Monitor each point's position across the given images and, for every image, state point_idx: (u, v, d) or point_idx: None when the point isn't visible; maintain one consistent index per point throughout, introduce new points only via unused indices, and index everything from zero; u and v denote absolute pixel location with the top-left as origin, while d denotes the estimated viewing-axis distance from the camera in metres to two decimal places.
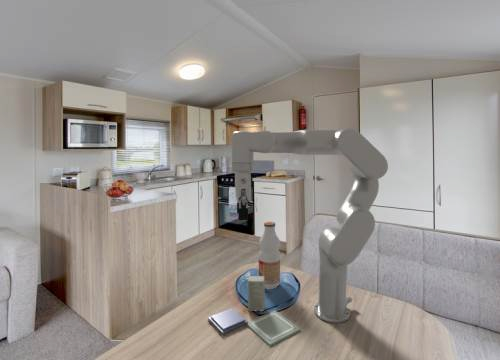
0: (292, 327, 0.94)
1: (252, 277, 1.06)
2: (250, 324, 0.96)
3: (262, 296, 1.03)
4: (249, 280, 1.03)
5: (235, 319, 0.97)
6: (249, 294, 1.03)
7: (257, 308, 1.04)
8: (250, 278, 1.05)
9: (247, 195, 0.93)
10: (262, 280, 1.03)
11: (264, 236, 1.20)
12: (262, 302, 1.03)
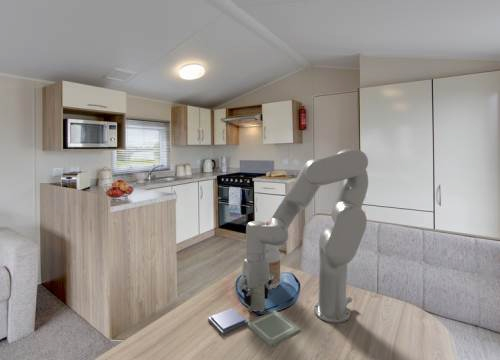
0: (292, 327, 0.94)
1: None
2: (250, 324, 0.96)
3: (262, 296, 1.03)
4: None
5: (235, 319, 0.97)
6: (249, 294, 1.03)
7: (257, 308, 1.04)
8: None
9: None
10: (262, 280, 1.03)
11: None
12: (262, 302, 1.03)
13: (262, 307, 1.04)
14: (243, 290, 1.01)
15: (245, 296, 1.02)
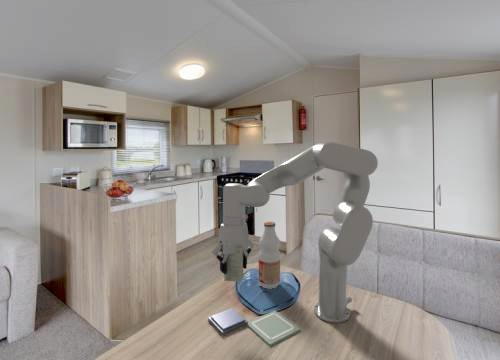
0: (292, 327, 0.94)
1: None
2: (250, 324, 0.96)
3: (239, 264, 0.95)
4: None
5: (235, 319, 0.97)
6: None
7: (234, 277, 0.96)
8: None
9: None
10: (240, 247, 0.95)
11: (264, 236, 1.20)
12: (239, 271, 0.95)
13: (239, 276, 0.96)
14: (218, 256, 0.93)
15: (221, 263, 0.95)
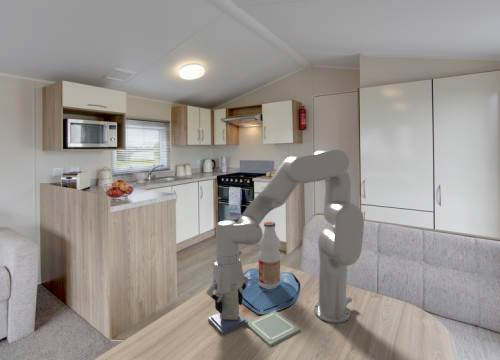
0: (292, 327, 0.94)
1: None
2: (250, 324, 0.96)
3: (234, 302, 0.95)
4: None
5: (235, 319, 0.97)
6: None
7: (229, 315, 0.95)
8: None
9: None
10: (235, 285, 0.94)
11: (264, 236, 1.20)
12: (235, 308, 0.95)
13: (235, 314, 0.95)
14: (213, 296, 0.92)
15: (216, 302, 0.94)
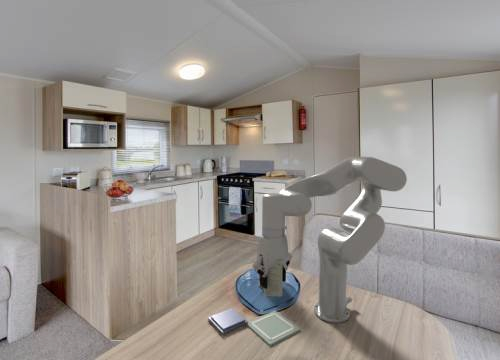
0: (292, 327, 0.94)
1: None
2: (250, 324, 0.96)
3: (280, 278, 0.91)
4: None
5: (235, 319, 0.97)
6: None
7: (274, 292, 0.91)
8: None
9: None
10: (281, 260, 0.91)
11: None
12: (280, 285, 0.91)
13: (280, 290, 0.91)
14: (259, 270, 0.88)
15: (261, 278, 0.90)
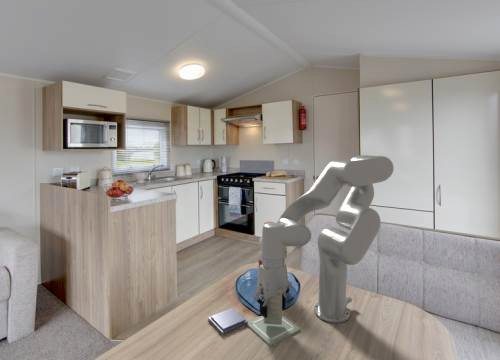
0: (292, 327, 0.94)
1: None
2: (250, 324, 0.96)
3: (280, 307, 0.92)
4: None
5: (235, 319, 0.97)
6: None
7: (274, 320, 0.93)
8: None
9: None
10: (280, 289, 0.92)
11: None
12: (280, 313, 0.92)
13: (279, 319, 0.92)
14: (259, 300, 0.90)
15: (261, 307, 0.91)
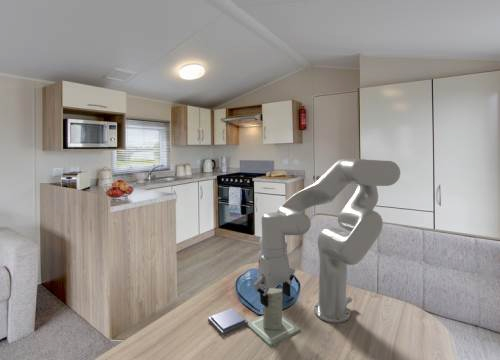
0: (292, 327, 0.94)
1: (269, 289, 0.95)
2: (250, 324, 0.96)
3: (280, 311, 0.92)
4: None
5: (235, 319, 0.97)
6: (265, 308, 0.93)
7: (273, 324, 0.93)
8: None
9: None
10: (281, 293, 0.92)
11: None
12: (279, 318, 0.92)
13: (279, 324, 0.92)
14: (259, 289, 0.89)
15: (261, 296, 0.91)
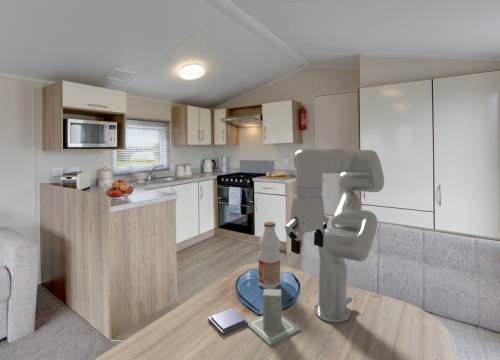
0: (292, 327, 0.94)
1: (268, 290, 0.94)
2: (250, 324, 0.96)
3: (279, 312, 0.92)
4: (264, 294, 0.92)
5: (235, 319, 0.97)
6: (264, 310, 0.92)
7: (273, 325, 0.93)
8: (265, 292, 0.94)
9: None
10: (280, 294, 0.92)
11: (264, 236, 1.20)
12: (279, 319, 0.92)
13: (279, 324, 0.92)
14: (292, 233, 0.78)
15: (293, 242, 0.80)
